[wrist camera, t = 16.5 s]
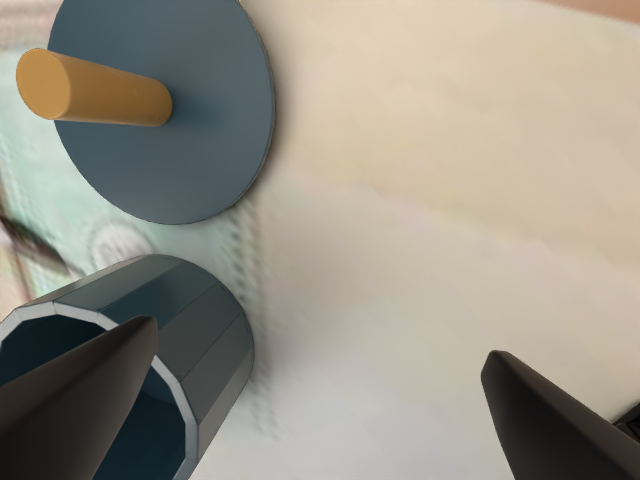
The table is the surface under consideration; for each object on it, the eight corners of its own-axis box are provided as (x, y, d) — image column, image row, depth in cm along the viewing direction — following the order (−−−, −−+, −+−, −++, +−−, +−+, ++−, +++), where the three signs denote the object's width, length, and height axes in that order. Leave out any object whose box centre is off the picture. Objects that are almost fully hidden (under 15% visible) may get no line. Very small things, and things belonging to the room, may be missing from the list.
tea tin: (285, 319, 21) (238, 399, 15) (213, 436, 25) (150, 539, 19) (124, 219, 21) (7, 253, 15) (79, 350, 26) (-29, 422, 19)
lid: (327, 138, 18) (289, 136, 11) (159, 258, 22) (57, 309, 15) (174, -106, 16) (16, -288, 9) (24, 75, 20) (-159, 43, 13)
